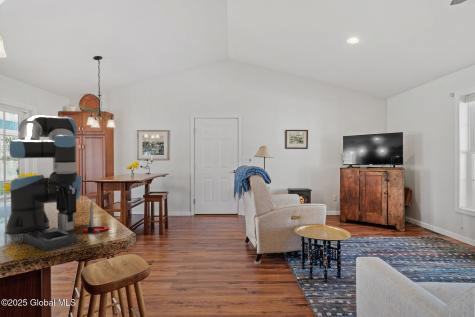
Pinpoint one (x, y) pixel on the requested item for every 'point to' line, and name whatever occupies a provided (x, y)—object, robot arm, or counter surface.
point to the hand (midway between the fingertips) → (66, 228)
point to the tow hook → (91, 228)
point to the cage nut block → (62, 221)
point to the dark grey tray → (50, 238)
